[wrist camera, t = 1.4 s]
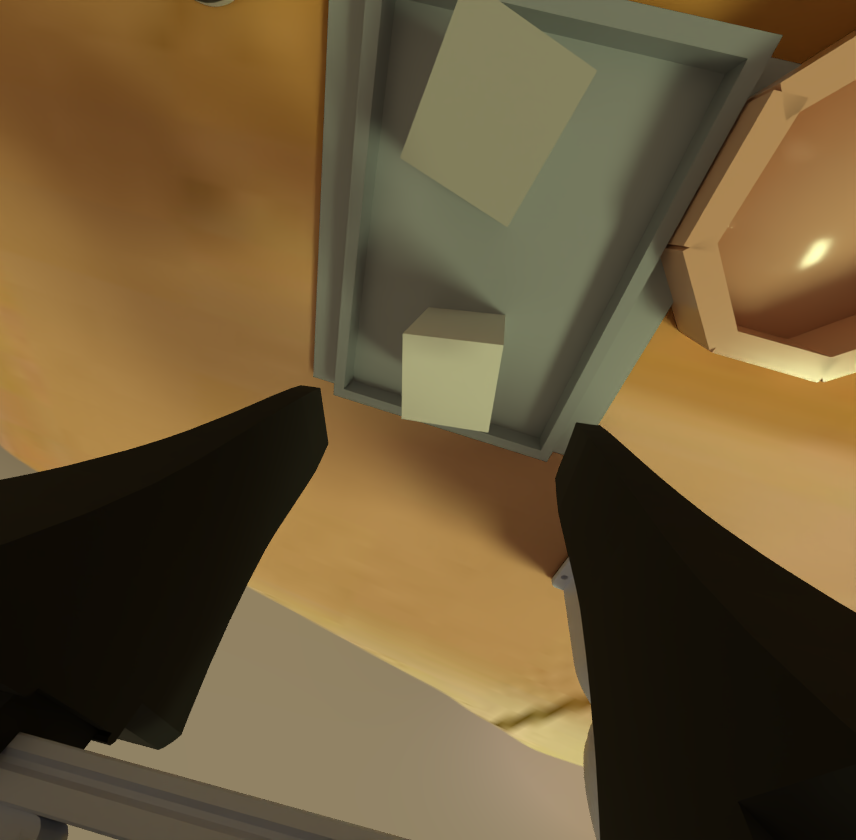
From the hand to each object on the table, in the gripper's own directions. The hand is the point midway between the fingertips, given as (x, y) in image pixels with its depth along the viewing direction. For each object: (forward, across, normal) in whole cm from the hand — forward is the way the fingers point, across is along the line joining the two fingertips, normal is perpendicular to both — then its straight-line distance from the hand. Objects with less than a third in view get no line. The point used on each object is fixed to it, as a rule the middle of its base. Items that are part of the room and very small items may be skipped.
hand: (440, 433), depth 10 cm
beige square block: (+10, 0, -7) cm, 13 cm away
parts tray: (+10, -1, -3) cm, 11 cm away
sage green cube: (+10, 0, +1) cm, 10 cm away
